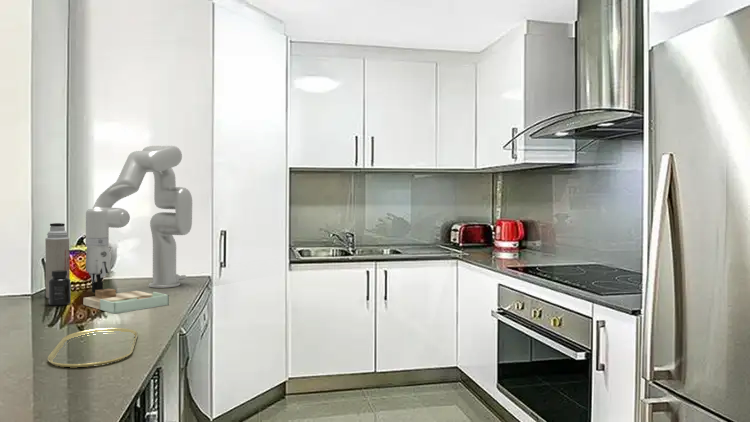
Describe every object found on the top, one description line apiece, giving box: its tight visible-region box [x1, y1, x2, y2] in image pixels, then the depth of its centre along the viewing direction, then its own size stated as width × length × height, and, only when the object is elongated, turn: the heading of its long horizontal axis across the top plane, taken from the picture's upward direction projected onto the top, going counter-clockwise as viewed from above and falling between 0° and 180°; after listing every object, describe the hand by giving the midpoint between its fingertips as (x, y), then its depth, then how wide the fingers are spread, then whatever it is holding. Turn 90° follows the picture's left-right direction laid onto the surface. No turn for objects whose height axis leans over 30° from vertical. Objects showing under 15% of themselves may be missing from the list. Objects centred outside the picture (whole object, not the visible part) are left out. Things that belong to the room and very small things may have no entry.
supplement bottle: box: [48, 270, 72, 307], centre depth 200 cm, size 7×7×12 cm
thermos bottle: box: [45, 222, 71, 299], centre depth 215 cm, size 8×8×28 cm
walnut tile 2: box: [94, 288, 117, 299], centre depth 202 cm, size 5×5×2 cm
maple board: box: [82, 290, 153, 310], centre depth 204 cm, size 20×12×2 cm, turn 142°
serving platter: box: [47, 327, 138, 369], centre depth 146 cm, size 19×35×2 cm, turn 19°
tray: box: [99, 291, 170, 314], centre depth 198 cm, size 20×10×4 cm, turn 142°
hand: (97, 292), depth 206 cm, fingers closed
